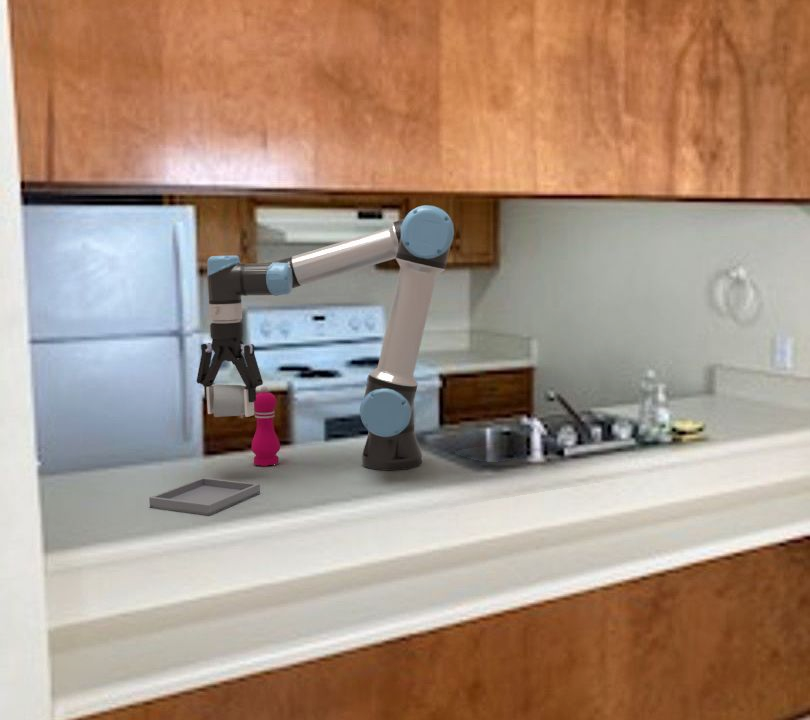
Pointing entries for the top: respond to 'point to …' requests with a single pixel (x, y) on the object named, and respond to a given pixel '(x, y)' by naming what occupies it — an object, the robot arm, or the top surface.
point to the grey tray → (204, 496)
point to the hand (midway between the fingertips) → (230, 414)
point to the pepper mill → (265, 430)
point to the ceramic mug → (229, 400)
